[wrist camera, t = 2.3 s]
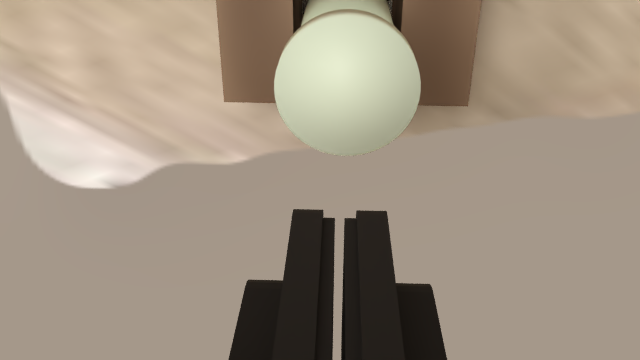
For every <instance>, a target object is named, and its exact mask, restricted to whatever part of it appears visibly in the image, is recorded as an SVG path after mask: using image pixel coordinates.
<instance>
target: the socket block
mask: <svg viewBox="0 0 640 360" xmlns="http://www.w3.org/2000/svg"><path fill="white" fill-rule="evenodd" d="M481 1H482V0H393V3H392V21H393V25H394V26H395V27H396V28H397V29H398V30H399V31H400V32H401V33H402V34H403V36H404V37H405V38H406V40H407V41H408V43H409V45H410V46H411V49H412V51H413V53H414V56H415V59H416V62H417V65H418V69H419V73H420V80H421V92H420V98H419V103H418V105H432V106H468V101H469V94H470V86H471V78H472V71H473V63H474V55H475V47H476V40H477V32H478V24H479V17H480V9H481ZM216 5H217V18H218V30H219V43H220V55H221V68H222V80H223V93H224V102H254V103H276V100H275V94H274V79H275V73H276V69H277V66H278V63H279V60H280V57H281V54H282V51H283V49H284V47H285V45H286V43H287V42H288V40H289V39H290V37H291V36H292V35H293V34H294V33H295V32H296V30H297V29H299V28H300V27H301V24H302V0H216Z"/></svg>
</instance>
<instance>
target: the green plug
mask: <svg viewBox="0 0 640 360" xmlns="http://www.w3.org/2000/svg"><path fill="white" fill-rule="evenodd" d="M420 92H421V80H420V73H419V69H418V65H417V62H416V59H415V56H414V53H413V51H412V49H411V46H410V45H409V43H408V41H407V40H406V38H405V37H404V36H403V34H402V33H401V32H400V31H399V30H398V29H397V28H396V27H395V26H394V25H393V21H392V18H391V14H390V10H389V6H388V3H387V0H308V2H307V6H306V9H305V13H304V17H303V20H302V24H301V27H300V28H299V29H297V30H296V32H295V33H294V34H293V35H292V36H291V37H290V39H289V40H288V42H287V43H286V45H285V47H284V49H283V51H282V54H281V57H280V60H279V63H278V66H277V69H276V73H275V79H274V94H275V100H276V104H277V108H278V110H279V113H280V115H281V117H282V119H283V121H284V123H285V124H286V125H287V127H288V128H289V129H290V131H291V132H292V133H293V134H294V135H295V136H296V137H297V138H299V139H300V140H301V141H302V142H304V143H305V144H307V145H308V146H310V147H312V148H314V149H316V150H318V151H321V152H324V153H327V154H332V155H339V156H355V155H361V154H366V153H369V152H373V151H375V150H377V149H380V148H382V147H384V146H386V145H387V144H389V143H390V142H392V141H393V140H394V139H396V138H397V137H398V136H399V135H400V134H401V133H402V132H403V131H404V130H405V128H406V127H407V126H408V124H409V123H410V121H411V120H412V118H413V116H414V114H415V112H416V109H417V106H418V103H419V98H420Z"/></svg>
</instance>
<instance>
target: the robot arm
mask: <svg viewBox="0 0 640 360" xmlns="http://www.w3.org/2000/svg"><path fill="white" fill-rule="evenodd" d="M334 232H335V218H323V210H304V209H302V210H301V209H294V210H293V214H292V221H291V229H290V236H289V243H288V250H287V257H286V264H285V271H284V278H283V281H277V280H248V281H247V283H246V286H245V291H244V295H243V299H242V304H241V308H240V312H239V316H238V321H237V326H236V329H235V334H234V339H233V343H232V348H231V351H230V356H229V360H332V349H333V291H334ZM341 347H342V349H341V352H342V353H341V358H342V359H341V360H447V357H446V352H445V348H444V343H443V338H442V333H441V328H440V323H439V318H438V314H437V309H436V304H435V299H434V295H433V290H432V287H431V285H430V284H405V283H404V284H403V283H395V274H394V266H393V258H392V250H391V242H390V233H389V225H388V217H387V212H386V211H357V212H356V218H345V225H344V264H343V302H342V346H341Z"/></svg>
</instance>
